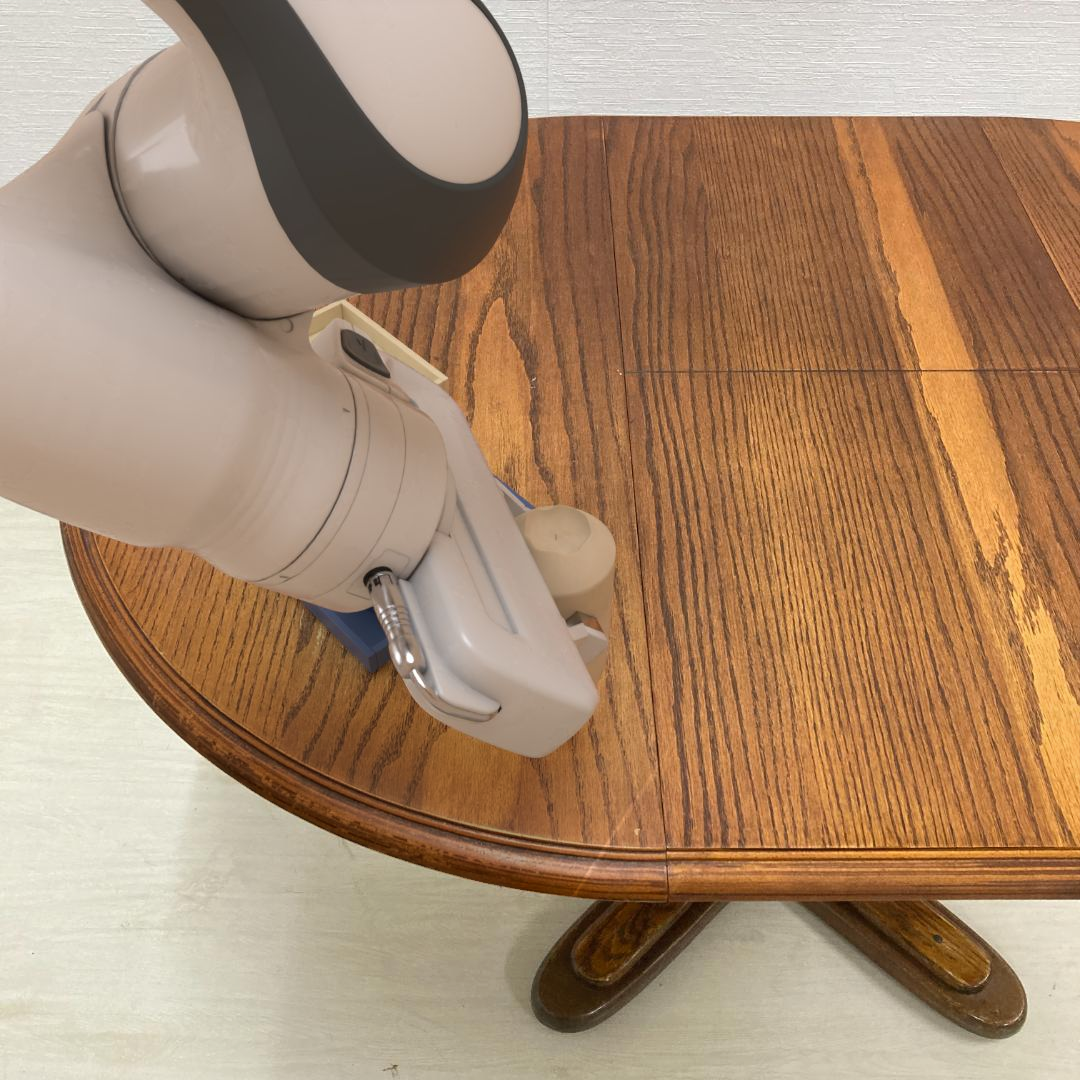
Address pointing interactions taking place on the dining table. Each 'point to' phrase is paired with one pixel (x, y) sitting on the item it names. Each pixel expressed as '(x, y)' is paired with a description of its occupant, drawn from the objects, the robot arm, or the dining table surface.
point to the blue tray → (366, 626)
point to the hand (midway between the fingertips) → (566, 588)
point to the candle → (574, 564)
